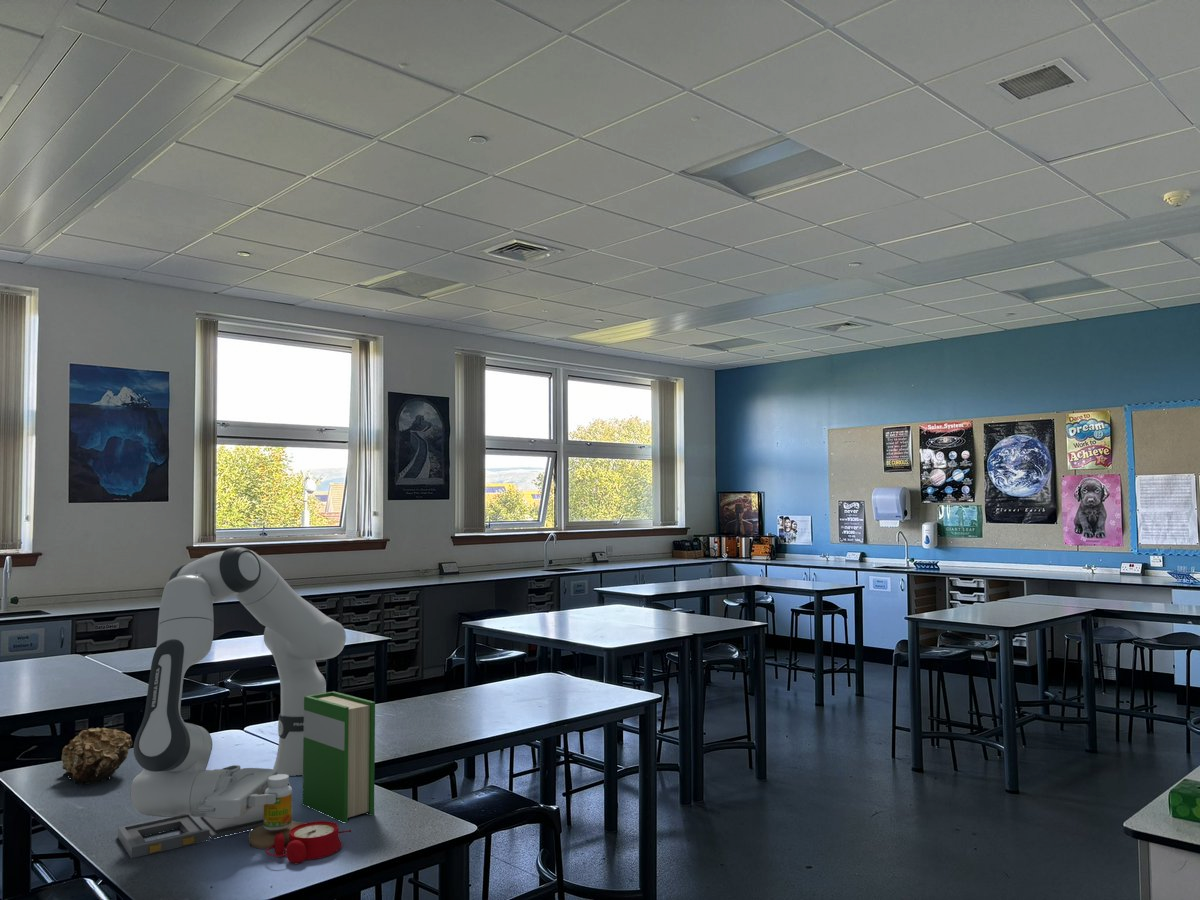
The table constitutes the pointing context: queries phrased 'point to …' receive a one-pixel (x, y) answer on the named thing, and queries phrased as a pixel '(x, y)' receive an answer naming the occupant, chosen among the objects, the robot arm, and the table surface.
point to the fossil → (95, 754)
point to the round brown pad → (269, 836)
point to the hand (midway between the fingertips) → (282, 792)
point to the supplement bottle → (278, 803)
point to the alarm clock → (309, 841)
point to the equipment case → (192, 828)
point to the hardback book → (339, 754)
